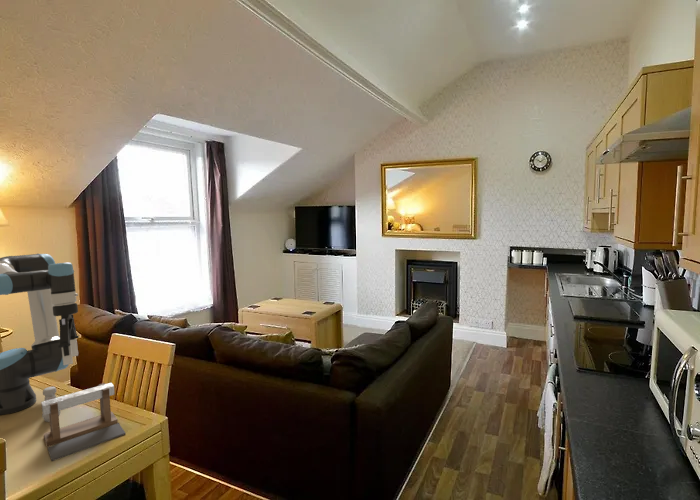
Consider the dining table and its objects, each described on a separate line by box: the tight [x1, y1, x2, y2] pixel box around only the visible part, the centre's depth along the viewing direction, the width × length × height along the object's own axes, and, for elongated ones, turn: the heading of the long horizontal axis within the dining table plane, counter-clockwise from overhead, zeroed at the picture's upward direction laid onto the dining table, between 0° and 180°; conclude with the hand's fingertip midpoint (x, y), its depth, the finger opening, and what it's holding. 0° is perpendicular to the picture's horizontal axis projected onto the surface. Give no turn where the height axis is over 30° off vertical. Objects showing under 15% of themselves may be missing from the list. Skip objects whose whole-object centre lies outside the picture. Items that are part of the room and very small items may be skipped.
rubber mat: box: [47, 422, 127, 462], centre depth 140 cm, size 9×22×1 cm, turn 134°
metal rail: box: [40, 382, 115, 415], centre depth 146 cm, size 4×22×4 cm, turn 134°
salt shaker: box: [41, 386, 61, 423], centre depth 154 cm, size 6×6×13 cm
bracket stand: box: [43, 382, 119, 448], centre depth 146 cm, size 8×22×14 cm, turn 134°
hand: (71, 360), depth 146 cm, fingers open, 13 cm apart
